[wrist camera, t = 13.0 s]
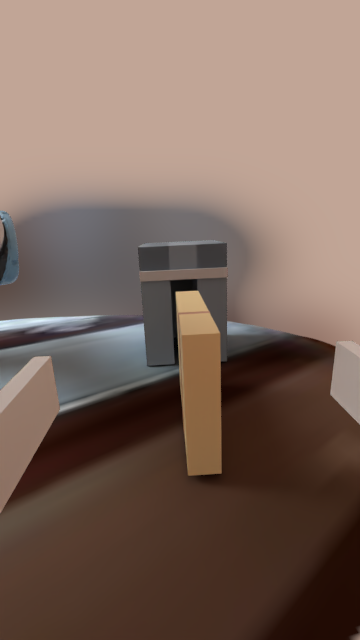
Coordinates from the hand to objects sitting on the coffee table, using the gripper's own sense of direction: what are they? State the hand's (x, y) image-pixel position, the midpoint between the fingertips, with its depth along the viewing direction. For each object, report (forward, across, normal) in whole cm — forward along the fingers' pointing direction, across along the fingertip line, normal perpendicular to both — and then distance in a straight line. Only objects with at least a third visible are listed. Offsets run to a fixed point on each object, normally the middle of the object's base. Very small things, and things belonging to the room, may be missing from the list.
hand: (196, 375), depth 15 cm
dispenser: (+33, +1, -12) cm, 35 cm away
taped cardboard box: (+13, +1, -11) cm, 17 cm away
